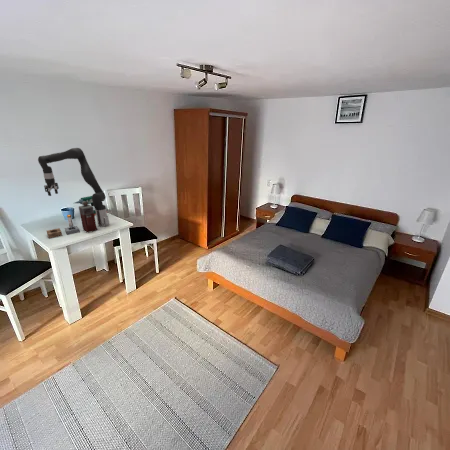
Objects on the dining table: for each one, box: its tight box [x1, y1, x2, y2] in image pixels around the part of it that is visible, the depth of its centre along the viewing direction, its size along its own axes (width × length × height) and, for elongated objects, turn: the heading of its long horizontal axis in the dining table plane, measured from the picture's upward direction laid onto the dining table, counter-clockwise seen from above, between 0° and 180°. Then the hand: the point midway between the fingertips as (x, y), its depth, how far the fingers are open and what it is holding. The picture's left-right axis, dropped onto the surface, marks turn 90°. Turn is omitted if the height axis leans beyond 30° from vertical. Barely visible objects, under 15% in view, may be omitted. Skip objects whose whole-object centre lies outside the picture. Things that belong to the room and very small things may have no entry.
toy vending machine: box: [78, 201, 98, 233], centre depth 223 cm, size 9×11×28 cm
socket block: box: [64, 225, 80, 235], centre depth 224 cm, size 10×10×3 cm
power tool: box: [74, 195, 108, 216], centre depth 264 cm, size 32×7×20 cm, turn 143°
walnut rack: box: [46, 227, 63, 239], centre depth 215 cm, size 10×10×4 cm
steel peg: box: [66, 214, 75, 230], centre depth 221 cm, size 3×3×16 cm
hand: (53, 194), depth 232 cm, fingers open, 8 cm apart
